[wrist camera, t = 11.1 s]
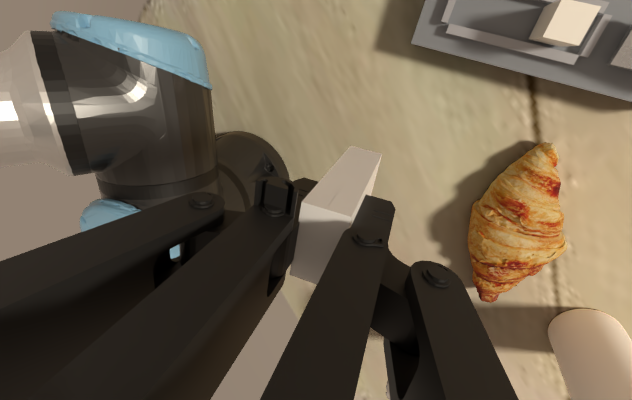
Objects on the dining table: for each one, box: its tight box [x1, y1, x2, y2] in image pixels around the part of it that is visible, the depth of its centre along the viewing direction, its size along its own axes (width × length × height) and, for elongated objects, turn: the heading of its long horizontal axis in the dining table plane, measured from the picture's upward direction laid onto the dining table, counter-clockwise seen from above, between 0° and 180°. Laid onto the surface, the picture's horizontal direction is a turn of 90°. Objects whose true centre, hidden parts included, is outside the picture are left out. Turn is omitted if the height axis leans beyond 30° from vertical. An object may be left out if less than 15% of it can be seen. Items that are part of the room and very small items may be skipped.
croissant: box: [468, 142, 567, 303], centre depth 38 cm, size 21×10×8 cm
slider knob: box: [529, 0, 601, 47], centre depth 26 cm, size 3×3×5 cm
